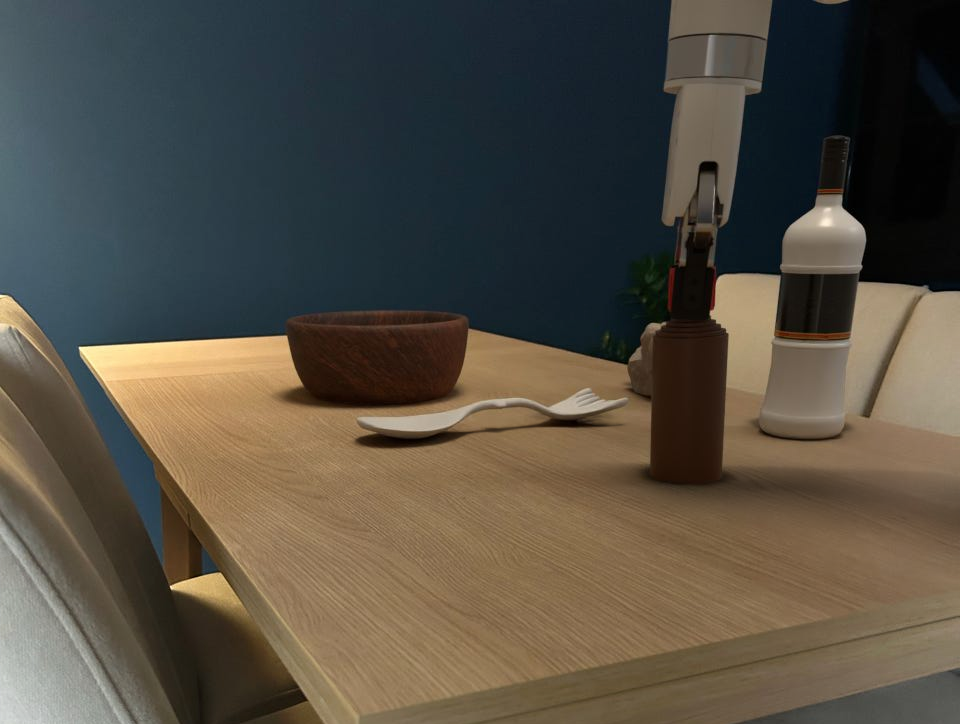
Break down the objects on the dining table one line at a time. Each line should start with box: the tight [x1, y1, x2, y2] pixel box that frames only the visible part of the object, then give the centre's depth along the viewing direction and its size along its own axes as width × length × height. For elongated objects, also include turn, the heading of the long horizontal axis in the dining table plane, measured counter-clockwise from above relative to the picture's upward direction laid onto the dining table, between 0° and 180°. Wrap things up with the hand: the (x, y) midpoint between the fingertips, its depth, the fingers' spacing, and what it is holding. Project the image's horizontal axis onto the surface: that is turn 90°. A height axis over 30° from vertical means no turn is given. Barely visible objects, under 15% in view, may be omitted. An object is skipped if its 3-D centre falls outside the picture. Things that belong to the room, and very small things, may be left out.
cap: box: [667, 266, 717, 312], centre depth 82 cm, size 4×4×3 cm
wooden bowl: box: [284, 309, 470, 405], centre depth 135 cm, size 25×25×10 cm
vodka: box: [758, 135, 867, 440], centre depth 104 cm, size 9×9×30 cm
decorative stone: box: [626, 321, 666, 397], centre depth 130 cm, size 20×8×10 cm, turn 12°
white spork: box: [356, 387, 629, 440], centre depth 111 cm, size 9×32×4 cm, turn 116°
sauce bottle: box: [649, 314, 730, 485], centre depth 85 cm, size 6×6×18 cm
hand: (687, 314), depth 83 cm, fingers closed on cap, 3 cm apart
